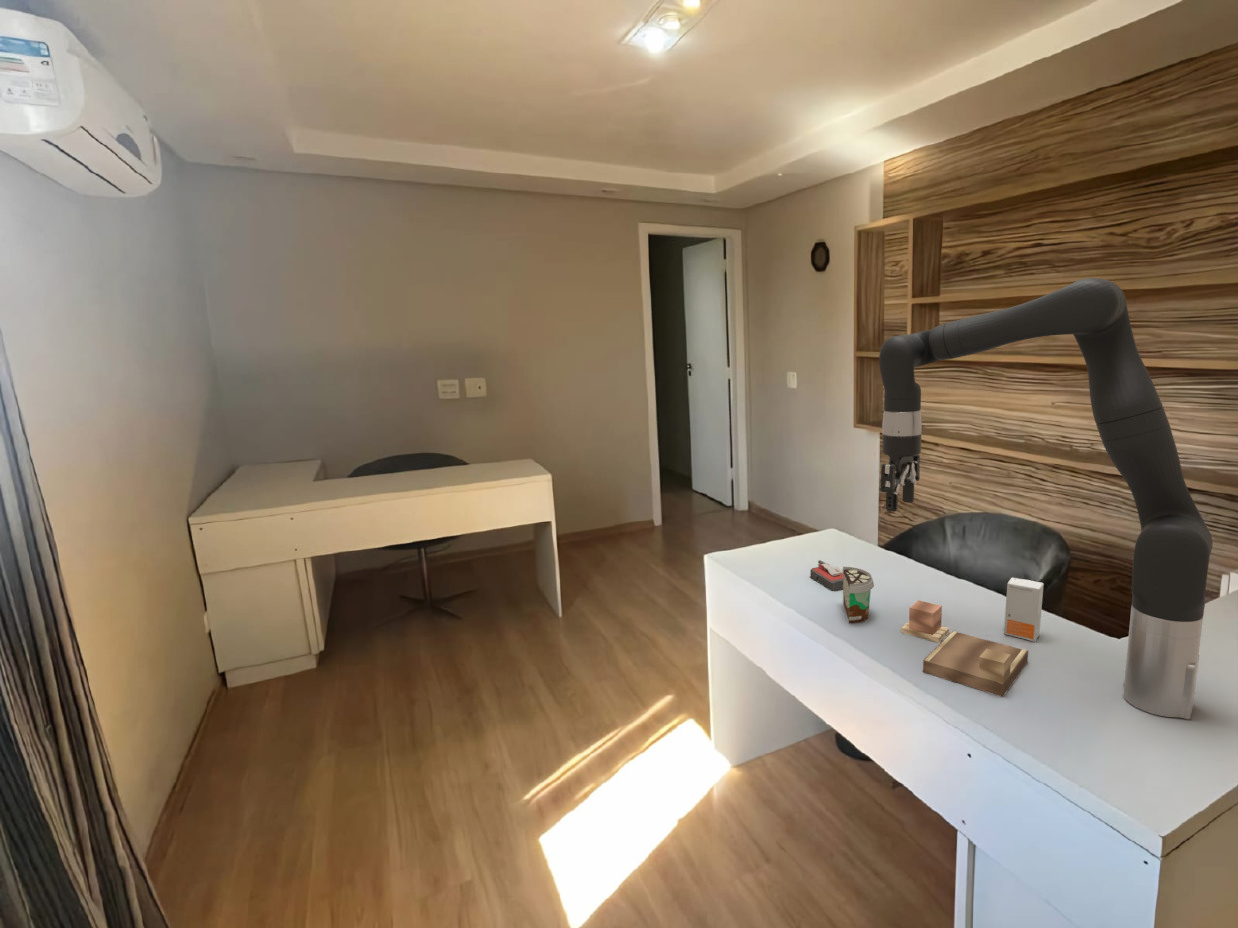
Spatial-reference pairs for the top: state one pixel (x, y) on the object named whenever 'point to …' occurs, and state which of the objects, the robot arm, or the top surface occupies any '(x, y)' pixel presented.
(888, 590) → the top surface
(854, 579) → the food container
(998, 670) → the light brown wooden cube
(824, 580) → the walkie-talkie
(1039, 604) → the skincare box
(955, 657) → the dock
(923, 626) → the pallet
